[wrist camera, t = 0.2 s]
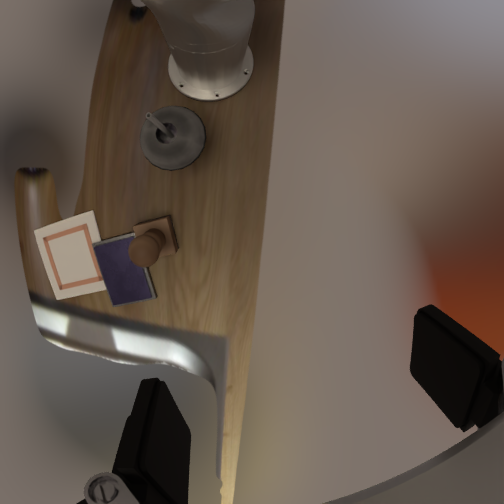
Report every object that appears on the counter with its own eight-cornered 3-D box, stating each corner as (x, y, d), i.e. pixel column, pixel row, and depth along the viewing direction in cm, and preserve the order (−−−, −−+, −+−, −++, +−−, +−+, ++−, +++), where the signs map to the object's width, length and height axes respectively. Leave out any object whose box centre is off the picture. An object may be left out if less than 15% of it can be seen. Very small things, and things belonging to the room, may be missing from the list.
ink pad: (93, 242, 43) (90, 244, 41) (137, 230, 43) (134, 232, 41) (114, 304, 46) (111, 308, 44) (157, 296, 46) (155, 300, 44)
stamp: (138, 223, 43) (114, 239, 32) (170, 214, 43) (154, 229, 32) (147, 255, 44) (127, 280, 34) (178, 247, 44) (166, 271, 34)
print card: (34, 230, 41) (33, 230, 40) (93, 210, 41) (92, 210, 41) (57, 299, 44) (56, 300, 44) (116, 286, 45) (115, 287, 44)
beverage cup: (178, 180, 42) (144, 188, 22) (151, 141, 40) (99, 121, 20) (219, 151, 41) (218, 135, 22) (192, 112, 39) (170, 68, 20)
